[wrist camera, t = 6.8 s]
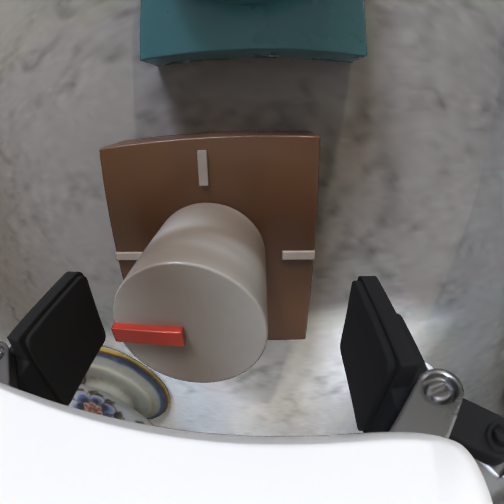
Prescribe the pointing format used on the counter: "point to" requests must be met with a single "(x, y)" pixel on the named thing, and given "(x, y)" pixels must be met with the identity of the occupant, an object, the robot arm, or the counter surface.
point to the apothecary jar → (121, 389)
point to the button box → (251, 30)
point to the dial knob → (197, 296)
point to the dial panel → (225, 201)
